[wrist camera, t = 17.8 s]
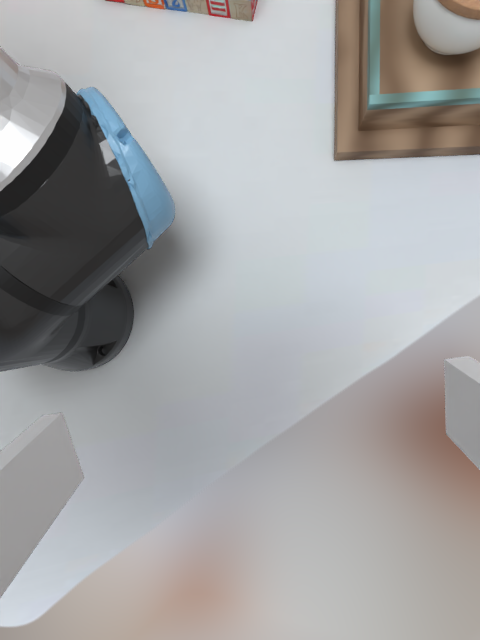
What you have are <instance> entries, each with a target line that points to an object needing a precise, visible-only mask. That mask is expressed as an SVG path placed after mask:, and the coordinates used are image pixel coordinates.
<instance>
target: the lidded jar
mask: <svg viewBox="0 0 480 640" xmlns="http://www.w3.org/2000/svg"><path fill="white" fill-rule="evenodd" d="M413 18H414V23H415V27H416V30H417V32H418V34H419V36H420V38H421V39H422V41H423V42H424V44H425V45H426V46H427V48H429V49H430V50H431V51H433V52H435V53H437V54H440V55H457V54H464V53H468V52H471V51H474V50H477V49H479V48H480V0H413Z"/></svg>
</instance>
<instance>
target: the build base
mask: <svg viewBox="0 0 480 640" xmlns="http://www.w3.org/2000/svg"><path fill="white" fill-rule="evenodd" d="M473 154H480V48H479V49H477V50H474V51H471V52H468V53H464V54H457V55H440V54H437V53H435V52H433V51H431V50H430V49H429V48H427V46H426V45H425V44H424V42H423V41H422V39H421V38H420V36H419V34H418V32H417V30H416V27H415V23H414V18H413V0H336V36H335V142H334V160H356V159H379V158H402V157H426V156H449V155H473Z"/></svg>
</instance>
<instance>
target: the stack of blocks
mask: <svg viewBox="0 0 480 640" xmlns="http://www.w3.org/2000/svg"><path fill="white" fill-rule="evenodd" d="M106 1H114V2H123V3H126V4H131V5H138V6H147V7H153V8H159V9H170V10H177V11H185V12H187V11H188V12H193V13H201V14H209V15H212V16H218V17H225V18H232V19H238V20H245V21H253V17H254V13H255V9H256V4H257V0H106Z"/></svg>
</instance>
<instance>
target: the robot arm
mask: <svg viewBox="0 0 480 640" xmlns="http://www.w3.org/2000/svg"><path fill="white" fill-rule="evenodd" d="M174 216H175V205H174V202H173V199H172V197H171V195H170V193H169V191H168V189H167V188H166V186H165V184H164V182H163V181H162V179H161V177H160V176H159V174H158V173H157V171H156V169H155V168H154V166H153V165H152V163H151V162H150V160H149V159H148V157H147V155H146V154H145V152H144V151H143V150H142V148H141V147H140V145H139V144H138V142H137V141H136V140H135V139H134V138H133V137H132V136H131V133H130V131H129V130H128V129H127V127H126V126H125V124H124V123H123V121H122V119H121V118H120V117H119V115H118V114H117V112H116V111H115V110H114V108H113V107H112V106H111V105H110V103H109V102H108V101H107V100H106V98H105V97H104V96H103V95H102V94H101V93H100V92H99V91H98V90H97V89H96V88H94V87H89V88H86V89H80V90H79V91H78V92H77V95H76V94H75V93H74V92H73V91H72V90H71V88H70V87H69V86H68V85H67V84H66V83H65V82H64V80H63V79H62V78H61V77H60V76H59V75H58V74H57V73H56V72H53V71H50V70H45V69H39V68H33V67H27V66H22V65H19V64H18V63H16V62H15V61H14V60H13V59H12V58H11V57H10V56H9V55H8V54H7V53H6V52H5V51H4V50H3V49H2V48H1V46H0V372H1V371H7V370H12V369H17V368H23V367H28V366H34V365H39V364H42V365H46V366H49V367H53V368H56V369H60V370H65V371H82V370H87V369H91V368H95V367H98V366H100V365H103V364H105V363H107V362H108V361H110V360H111V359H112V358H114V357H115V356H116V355H117V354H118V353H119V352H120V351H121V349H122V348H123V347H124V345H125V343H126V342H127V340H128V337H129V335H130V332H131V329H132V324H133V305H132V300H131V297H130V294H129V291H128V289H127V287H126V285H125V284H124V282H123V281H122V280H121V278H120V277H119V276H118V274H119V273H120V272H121V271H122V270H124V269H125V268H126V267H127V266H128V265H129V264H130V263H131V262H132V261H134V260H135V259H136V258H137V257H138V256H139V255H140V254H141V253H143V252H144V251H145V250H146V249H150V248H151V247H152V245H153V242H154V241H155V240H156V239H157V238H158V237H159V236H160V235H161V234H162V233H163V232H164V231H165V230H166V229H167V228H168V227H169V226H170V225H171V224H172V222H173V220H174ZM444 366H445V367H444V369H445V370H444V371H445V411H446V434H447V435H448V437H450V439H451V440H452V441H453V442H454V443H455V444H456V445H457V446H458V447H459V448H460V449H461V450H462V451H463V452H464V453H465V455H466V456H467V457H468V458H469V459H470V460H471V461H472V462H473V463H474V464H475V465H476V466H477V467H478V468H479V470H480V362H478V361H477V360H475V359H473V358H472V357H470V356H465V357H459V358H451V359H445V360H444ZM83 479H84V475H83V472H82V469H81V466H80V463H79V461H78V458H77V455H76V452H75V449H74V446H73V443H72V440H71V437H70V434H69V431H68V428H67V425H66V422H65V419H64V416H63V413H55V414H48V415H42V416H41V417H40V418H39V419H37V420H36V421H35V422H34V423H33V424H32V425H30V426H29V427H28V428H27V429H26V430H25V431H23V432H22V433H21V434H20V435H19V436H18V437H16V438H15V439H14V440H13V441H12V442H11V443H10V444H8V445H7V446H6V447H5V448H4V449H3V450H1V451H0V598H1V596H2V595H3V594H4V592H5V591H6V589H7V588H8V586H9V585H10V584H11V582H12V581H13V579H14V578H15V576H16V575H17V573H18V572H19V571H20V569H21V568H22V566H23V565H24V563H25V562H26V561H27V559H28V558H29V556H30V555H31V553H32V552H33V550H34V549H35V548H36V546H37V545H38V543H39V542H40V540H41V539H42V538H43V536H44V535H45V533H46V532H47V530H48V529H49V528H50V526H51V525H52V523H53V522H54V520H55V519H56V517H57V516H58V515H59V513H60V512H61V510H62V509H63V507H64V506H65V505H66V503H67V502H68V500H69V499H70V497H71V496H72V494H73V493H74V492H75V490H76V489H77V487H78V486H79V484H80V483H81V482H82V480H83Z"/></svg>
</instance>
